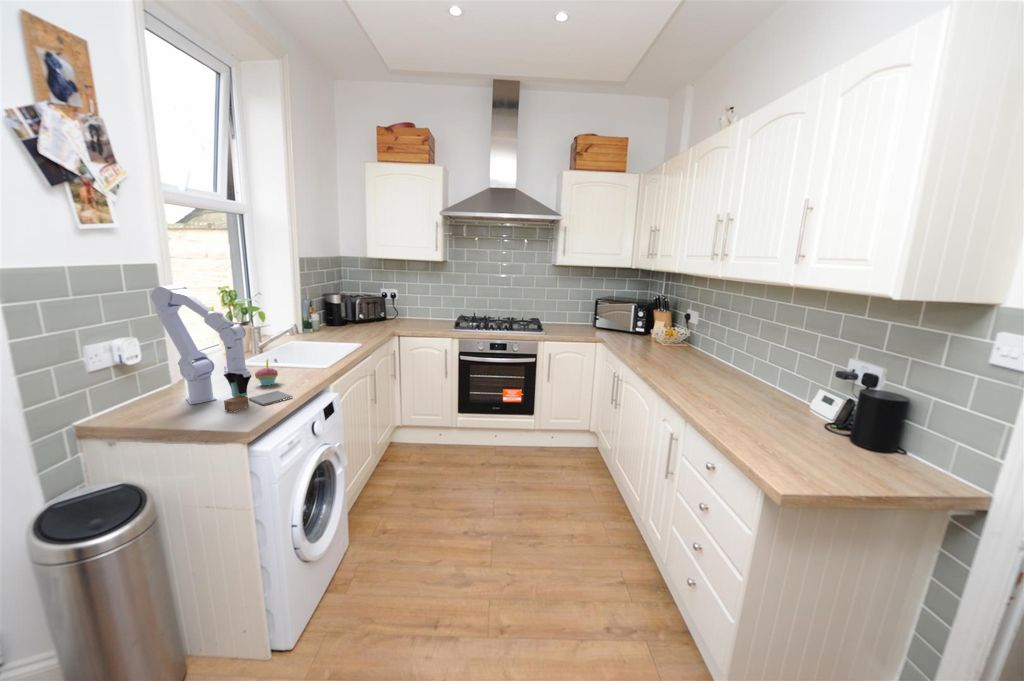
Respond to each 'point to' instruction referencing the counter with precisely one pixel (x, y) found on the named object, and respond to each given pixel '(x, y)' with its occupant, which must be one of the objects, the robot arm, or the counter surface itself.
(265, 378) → the cupcake
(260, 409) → the counter surface
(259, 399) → the slate coaster
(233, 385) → the teal block
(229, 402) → the walnut block
